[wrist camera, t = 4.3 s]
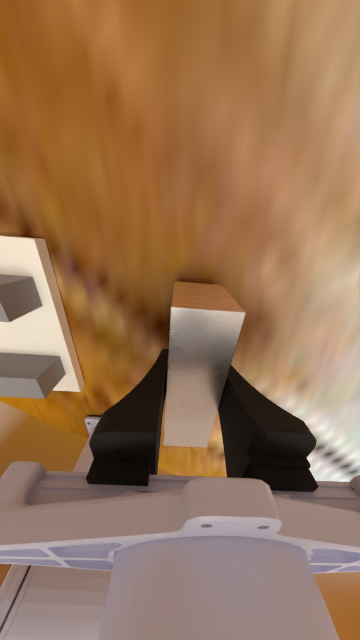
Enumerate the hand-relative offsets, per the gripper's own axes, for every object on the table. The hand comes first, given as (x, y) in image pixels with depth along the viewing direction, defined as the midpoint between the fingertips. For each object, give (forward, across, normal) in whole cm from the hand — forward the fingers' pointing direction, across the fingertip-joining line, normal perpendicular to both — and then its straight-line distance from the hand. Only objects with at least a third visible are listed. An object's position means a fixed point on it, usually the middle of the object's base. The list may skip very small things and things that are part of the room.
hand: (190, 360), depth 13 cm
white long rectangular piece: (+2, 0, 0) cm, 2 cm away
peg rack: (+4, +16, 0) cm, 16 cm away
